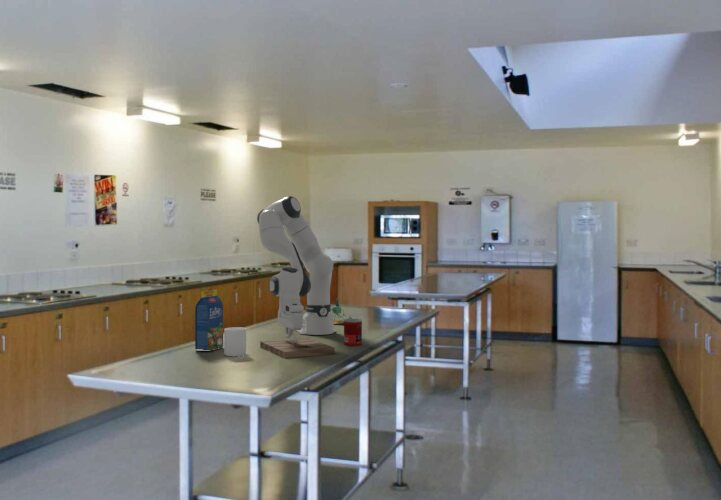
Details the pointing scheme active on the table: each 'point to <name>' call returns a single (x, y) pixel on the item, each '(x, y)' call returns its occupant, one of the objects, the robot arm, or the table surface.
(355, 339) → the canned food
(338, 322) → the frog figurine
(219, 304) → the blue food package
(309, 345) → the board
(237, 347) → the mug
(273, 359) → the table surface
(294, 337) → the ball
